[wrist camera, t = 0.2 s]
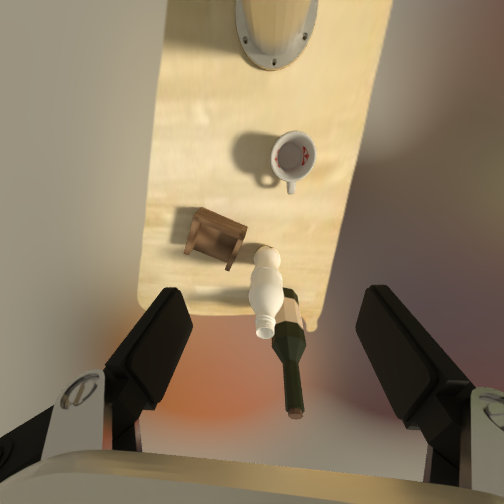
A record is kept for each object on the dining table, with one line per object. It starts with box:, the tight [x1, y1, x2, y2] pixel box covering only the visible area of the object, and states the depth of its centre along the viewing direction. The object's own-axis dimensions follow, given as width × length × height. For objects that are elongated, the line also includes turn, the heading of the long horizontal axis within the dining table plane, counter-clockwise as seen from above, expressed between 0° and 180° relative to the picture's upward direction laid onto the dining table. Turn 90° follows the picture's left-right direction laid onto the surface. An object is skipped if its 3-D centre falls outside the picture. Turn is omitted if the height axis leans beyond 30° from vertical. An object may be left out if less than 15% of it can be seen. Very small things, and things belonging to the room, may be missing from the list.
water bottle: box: [248, 246, 284, 339], centre depth 40 cm, size 7×7×25 cm
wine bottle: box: [272, 288, 306, 419], centre depth 45 cm, size 8×8×30 cm
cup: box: [270, 131, 316, 194], centre depth 35 cm, size 11×8×8 cm
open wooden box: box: [184, 207, 248, 271], centre depth 47 cm, size 12×12×6 cm
